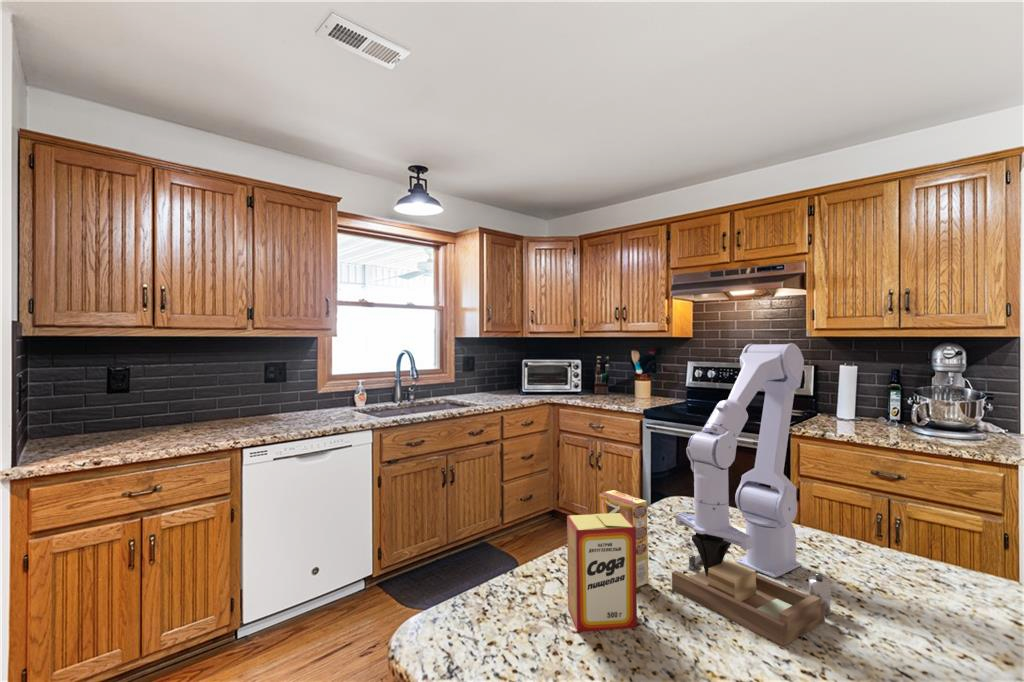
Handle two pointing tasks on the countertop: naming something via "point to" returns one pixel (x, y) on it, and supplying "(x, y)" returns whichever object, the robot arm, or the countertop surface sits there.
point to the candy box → (637, 516)
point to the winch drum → (820, 590)
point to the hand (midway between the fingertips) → (712, 575)
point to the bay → (758, 606)
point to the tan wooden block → (733, 580)
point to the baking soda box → (601, 572)
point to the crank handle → (694, 562)
